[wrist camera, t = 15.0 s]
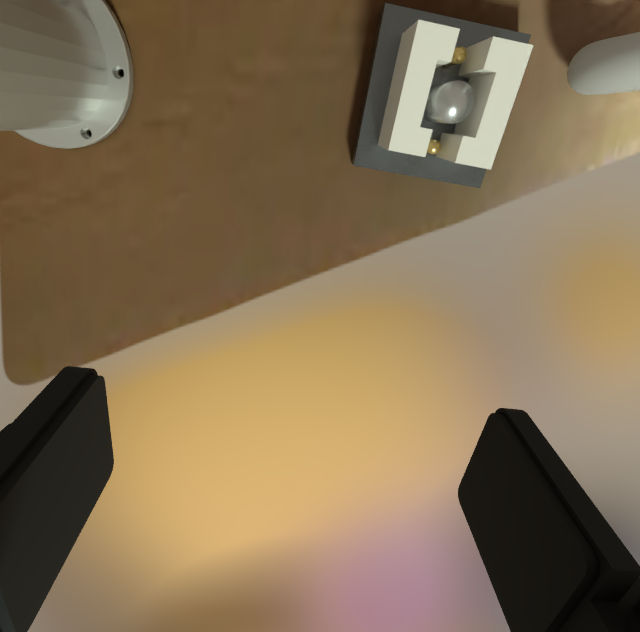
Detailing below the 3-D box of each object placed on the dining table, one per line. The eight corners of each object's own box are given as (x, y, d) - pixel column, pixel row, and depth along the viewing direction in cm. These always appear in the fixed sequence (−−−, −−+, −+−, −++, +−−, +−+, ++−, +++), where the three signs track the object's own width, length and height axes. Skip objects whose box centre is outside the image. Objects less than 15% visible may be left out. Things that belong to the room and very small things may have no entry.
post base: (351, 162, 35) (359, 172, 29) (381, 9, 30) (397, -16, 25) (471, 184, 36) (502, 197, 30) (518, 39, 31) (565, 22, 26)
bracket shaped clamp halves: (402, 33, 29) (418, 19, 25) (500, 55, 30) (533, 45, 26) (377, 145, 33) (388, 150, 28) (466, 162, 33) (490, 169, 29)
